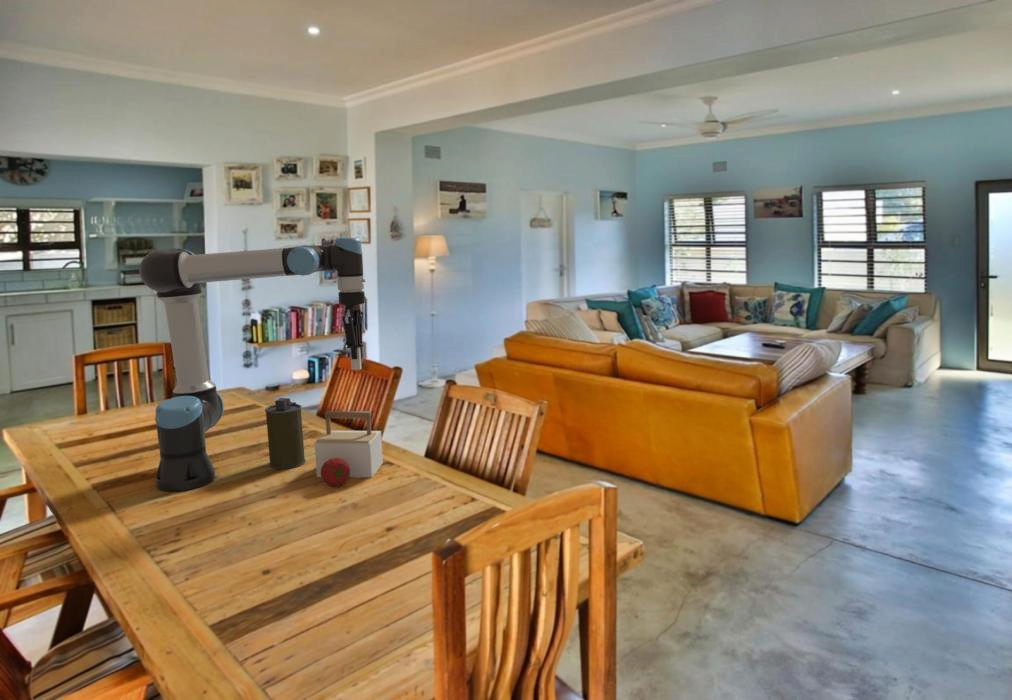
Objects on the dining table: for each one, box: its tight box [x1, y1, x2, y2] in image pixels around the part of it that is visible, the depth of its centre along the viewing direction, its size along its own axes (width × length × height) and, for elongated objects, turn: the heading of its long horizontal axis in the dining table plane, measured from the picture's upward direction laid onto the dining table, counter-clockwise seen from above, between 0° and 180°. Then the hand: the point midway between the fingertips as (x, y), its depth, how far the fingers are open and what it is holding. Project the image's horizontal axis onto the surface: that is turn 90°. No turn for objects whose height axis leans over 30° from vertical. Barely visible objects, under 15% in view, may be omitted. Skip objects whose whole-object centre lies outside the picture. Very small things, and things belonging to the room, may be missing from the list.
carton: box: [314, 430, 384, 478], centre depth 195 cm, size 16×12×10 cm
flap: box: [315, 410, 376, 443], centre depth 191 cm, size 15×8×7 cm, turn 85°
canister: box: [264, 397, 306, 470], centre depth 200 cm, size 11×10×20 cm
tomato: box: [321, 458, 350, 488], centre depth 183 cm, size 8×8×8 cm
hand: (356, 369), depth 201 cm, fingers closed
